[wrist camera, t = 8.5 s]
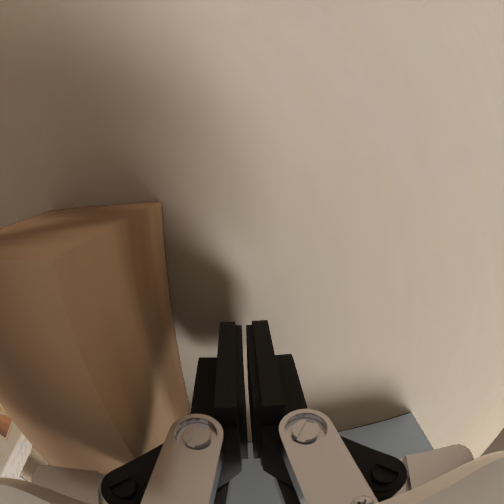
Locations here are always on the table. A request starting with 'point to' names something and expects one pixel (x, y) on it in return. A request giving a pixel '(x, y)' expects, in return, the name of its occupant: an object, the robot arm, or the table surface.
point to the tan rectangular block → (89, 334)
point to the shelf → (373, 436)
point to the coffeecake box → (12, 447)
